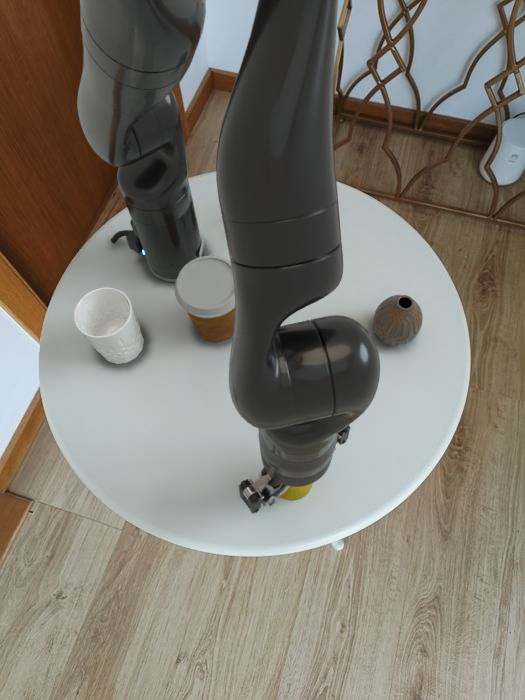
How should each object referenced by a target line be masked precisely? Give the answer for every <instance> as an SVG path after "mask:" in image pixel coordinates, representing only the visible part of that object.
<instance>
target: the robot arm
mask: <svg viewBox="0 0 525 700" xmlns="http://www.w3.org/2000/svg"><path fill="white" fill-rule="evenodd" d="M206 3H207V1H206V0H79V12H80V13H79V14H80V31H81V38H82V41H81V42H82V70H81V76H80V81H79V86H78V89H77V97H76V107H77V115H78V119H79V123H80V127H81V129H82V130H81V131H82V133H83V135H84V137H85V139H86V142H87V143H88V145H89V146H90V147H91V149H92V150H93V152H94V153H95V154H96V155H97V156H98V157H99V158H100V159H101V160H102V161H103V162H105V163H106V164H108V165H110V166H113V167H115V168H116V167H117V168H118V169H117V173H116V175H117V176H116V177H117V184H118V188H119V190H120V192H121V195H122V198H123V201H124V203H125V206H126V208H127V211H128V214H129V216H130V218H131V219H130V221H129V223H130V226H131V230H129V229H124V230H119V231H117V232H116V233H114V234H113V236H112V237H111V238H110V242H111V243H112V244H116V243H117V242H118V241H119V240H120V239H121V238H122V237H125V239H126V242H127V244H128V247H129V249H130V250H132V251H134V252H136V253H137V254H139V255H142V257H143V260H145V261H146V263H147V265H148V268H149V270H150V273H152V274H153V275H154V276H155V277H156V278H157V279H159V280H161V281H164V282H167V283H176V280H177V278H178V276H179V273H180V271H181V270H182V269H183V267H184V266H185V265H186V264H188V263H189V262H190V261H192V260H194V259H196V258H199V257H203V256H206V253H205V249H204V245H205V240H204V238H201V232H200V228H199V224H198V217H197V215H196V214H197V213H196V210H195V209H196V208H195V204H194V200H193V196H192V190H191V186H190V181H189V177H188V175H189V163H188V162H189V161H188V156H187V150H186V141H185V134H184V133H185V132H184V127H183V121H182V116H181V112H180V106H179V103H178V100H177V98H176V95H175V93H174V91H173V90H174V89H176V88H177V86H178V85H179V84H180V83H181V81H182V80H183V78H184V77H185V75H186V74H187V72H188V70H189V69H190V67H191V65H192V62H193V60H194V57H195V54H196V52H197V49H198V46H199V43H200V41H201V38H202V35H203V31H204V27H205V22H206V14H207V9H206V8H207V4H206ZM338 9H339V0H257V5H256V10H255V13H254V17H253V22H252V25H251V26H252V27H251V29H250V34H249V37H248V41H247V44H246V48H245V49H244V54H243V56H242V60H241V64H240V66H239V70H238V72H237V76H236V78H235V81H234V83H233V87H232V90H231V93H230V96H229V99H228V103H227V106H226V110H225V113H224V116H223V120H222V123H221V127H220V131H219V137H218V143H217V149H216V150H217V151H216V162H215V173H216V174H215V175H216V177H215V178H216V187H217V196H218V202H219V208H220V213H221V219H222V223H223V229H224V234H225V238H226V245H227V249H228V254H229V255H228V256H229V257H230V259H229V260H230V262H231V265H232V271H233V279H234V290H235V317H234V329H233V335H232V336H231V337H232V338H231V345H230V353H229V354H230V355H229V362H228V387H229V388H228V390H229V394H230V398H231V401H232V404H233V407H234V408H235V410H236V412H237V413H238V414H239V416H240V417H241V418H242V420H244V421H245V422H246V423H248V424H249V425H250V426H253V427H254V428H256V429H258V442H259V451H260V458H261V462H262V465H263V468H261V470H260V472H258V477H259V478H258V479H256V480H255V481H254V480H252V479H248V478H247V479H243V480H242V481H241V482H240V484H239V485H238V491H239V498H240V499H241V500H242V501H243V502H244V503H245V505H246V506H247V508H248V510H249V512H251V514H252V515H254V514H257V513H258V512H259V511H260V509H261V508H262V506H263V507H266V506H267V505H268V506H269V507H271V506H273V505H274V504H275V503H276V498H278V497H279V496H280V495H282V494H283V493H285V492H286V490H287V489H288V488H289V487H290V486H293V487H301V486H306V485H309V484H312V483H313V484H314V483H316V482H318V481H319V480H320V479H321V478H322V477H323V476H324V475H325V474H326V472H327V471H328V470H329V467H330V465H331V464H332V463H331V462H332V460H333V456H334V453H335V452H336V446H337V444H338V445H339V446H342V445H344V444H345V443H347V441H348V439H349V435H350V431H351V426H350V425H351V424H352V423H354V421H355V422H356V421H357V419H359V418H360V417H361V416H362V415H363V414H364V413H365V412H366V411H367V410H368V409H369V407H370V405H371V404H372V402H373V400H374V399H375V397H376V393H377V391H378V387H379V384H380V378H381V360H380V353H379V350H378V347H377V344H376V341H375V339H374V338H373V336H372V334H371V333H370V332H369V331H368V330H367V328H366V327H364V325H362V324H361V323H360V322H359V321H357V320H355V319H354V318H352V317H349V316H346V315H338V314H335V315H334V314H333V315H325V316H322V317H317V318H312V319H307V320H302V321H298V322H294V323H288V324H284V325H283V323H284V321H286V320H287V319H288V318H289V317H291V316H292V315H294V314H296V313H297V312H299V311H301V310H303V309H304V308H305V309H306V307H308V306H311V305H313V304H315V303H317V302H319V301H321V300H323V299H325V298H326V297H327V296H330V294H332V293H333V292H334V291H335V290H336V289H337V288H338V286H339V285H340V283H341V282H342V280H343V279H342V278H343V275H344V253H343V242H342V231H341V219H340V217H341V216H340V208H339V207H340V206H339V194H338V193H339V192H338V183H337V173H336V161H335V159H336V158H335V139H334V138H335V137H334V78H335V77H334V76H335V59H336V44H337V24H338ZM280 484H283V485H280ZM313 484H312V485H313Z"/></svg>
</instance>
